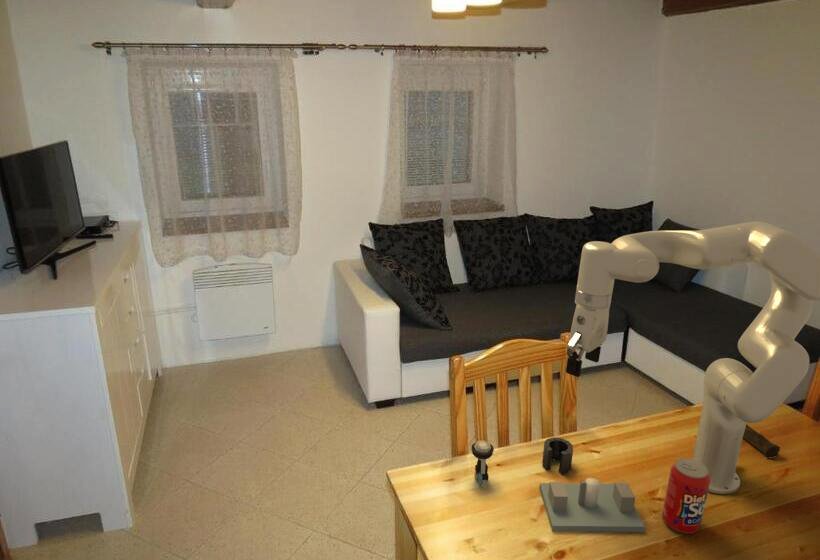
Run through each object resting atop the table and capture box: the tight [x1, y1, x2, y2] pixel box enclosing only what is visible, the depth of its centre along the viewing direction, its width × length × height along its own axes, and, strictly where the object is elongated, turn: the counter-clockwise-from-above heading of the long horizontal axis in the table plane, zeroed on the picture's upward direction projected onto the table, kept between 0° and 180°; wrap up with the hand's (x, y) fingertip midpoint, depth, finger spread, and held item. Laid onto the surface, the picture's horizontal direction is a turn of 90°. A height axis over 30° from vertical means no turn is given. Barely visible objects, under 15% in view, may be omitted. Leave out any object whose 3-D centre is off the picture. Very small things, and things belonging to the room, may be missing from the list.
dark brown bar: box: [743, 424, 781, 459], centre depth 160 cm, size 19×4×5 cm, turn 11°
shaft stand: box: [539, 477, 646, 533], centre depth 133 cm, size 20×14×8 cm
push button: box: [470, 439, 495, 489], centre depth 142 cm, size 7×5×10 cm
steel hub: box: [541, 436, 574, 476], centre depth 148 cm, size 7×7×6 cm
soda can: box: [661, 457, 710, 534], centre depth 128 cm, size 8×8×15 cm
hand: (582, 367), depth 134 cm, fingers open, 9 cm apart
